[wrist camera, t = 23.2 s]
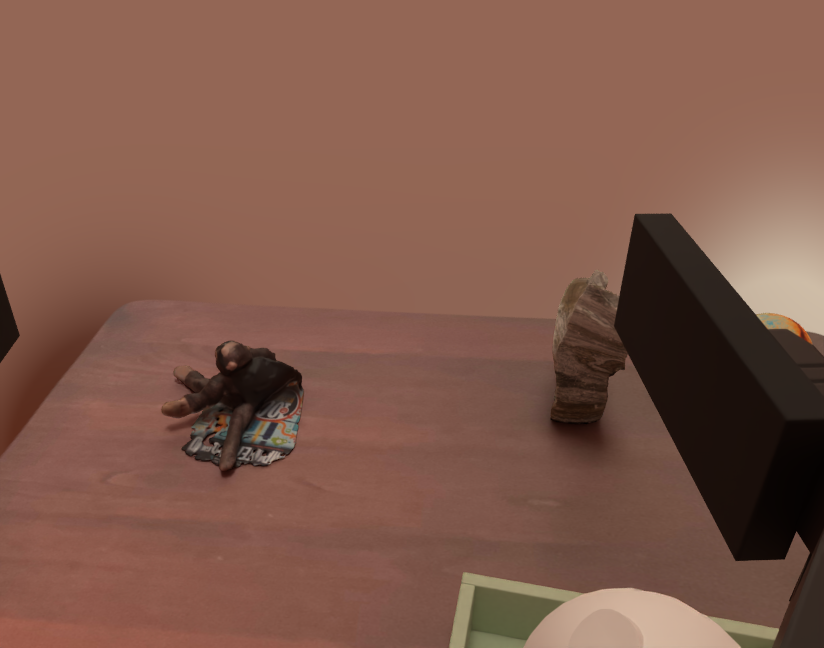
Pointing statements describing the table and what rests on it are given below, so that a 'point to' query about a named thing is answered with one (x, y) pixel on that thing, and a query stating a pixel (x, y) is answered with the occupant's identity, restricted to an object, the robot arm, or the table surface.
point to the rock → (585, 350)
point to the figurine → (627, 623)
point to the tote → (540, 615)
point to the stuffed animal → (241, 407)
